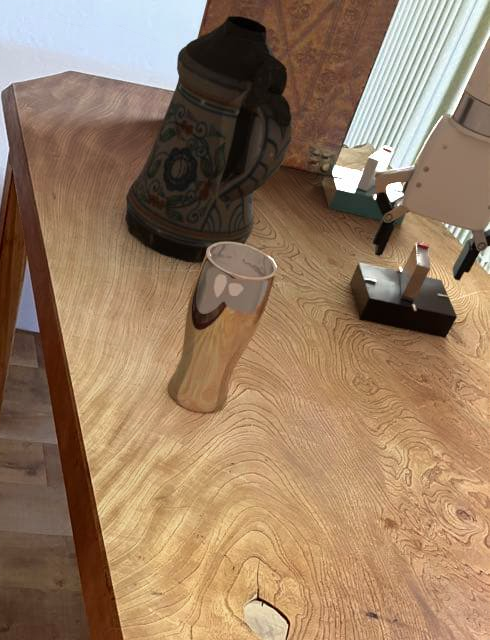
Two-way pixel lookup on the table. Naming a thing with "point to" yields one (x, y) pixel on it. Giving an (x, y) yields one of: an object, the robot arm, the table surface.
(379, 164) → the cold tap
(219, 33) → the beer stein
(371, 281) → the base
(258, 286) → the beer glass
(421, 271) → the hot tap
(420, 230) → the table surface
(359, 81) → the book
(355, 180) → the base
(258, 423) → the table surface
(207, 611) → the table surface
